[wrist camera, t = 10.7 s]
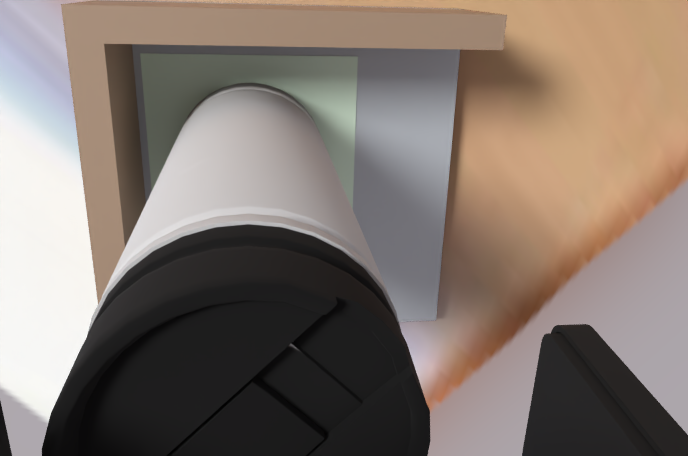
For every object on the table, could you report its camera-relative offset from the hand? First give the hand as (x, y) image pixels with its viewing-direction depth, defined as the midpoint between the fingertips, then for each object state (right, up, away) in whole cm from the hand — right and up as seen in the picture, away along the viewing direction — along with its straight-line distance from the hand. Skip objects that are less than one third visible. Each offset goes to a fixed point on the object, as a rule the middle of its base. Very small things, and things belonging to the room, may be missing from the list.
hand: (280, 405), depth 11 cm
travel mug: (-3, +6, +17) cm, 19 cm away
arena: (-2, +5, +19) cm, 19 cm away
